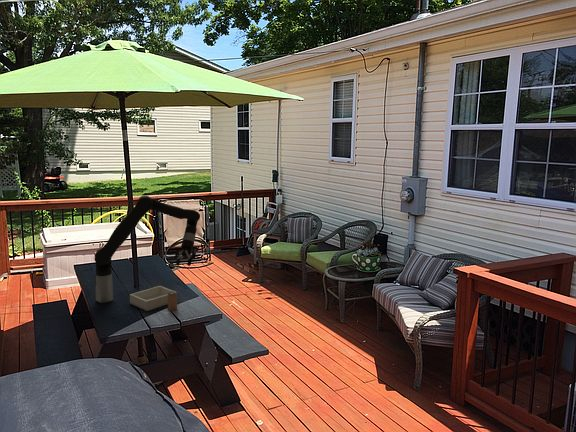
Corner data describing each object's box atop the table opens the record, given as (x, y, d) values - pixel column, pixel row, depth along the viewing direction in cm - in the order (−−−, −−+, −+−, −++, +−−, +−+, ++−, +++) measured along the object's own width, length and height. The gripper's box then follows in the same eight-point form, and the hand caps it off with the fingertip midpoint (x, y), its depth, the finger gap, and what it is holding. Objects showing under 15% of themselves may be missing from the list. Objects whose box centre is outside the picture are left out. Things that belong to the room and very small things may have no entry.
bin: (146, 311, 273) (146, 301, 272) (130, 303, 284) (129, 294, 283) (177, 301, 290) (176, 292, 288) (160, 294, 301) (160, 285, 300)
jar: (171, 311, 273) (170, 295, 271) (165, 309, 276) (165, 293, 274) (179, 309, 277) (178, 293, 275) (173, 306, 280) (173, 291, 278)
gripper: (175, 239, 291) (170, 263, 284) (194, 238, 284) (188, 263, 278) (183, 243, 297) (177, 267, 290) (201, 242, 290) (195, 267, 284)
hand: (183, 265), depth 284 cm, fingers open, 8 cm apart
